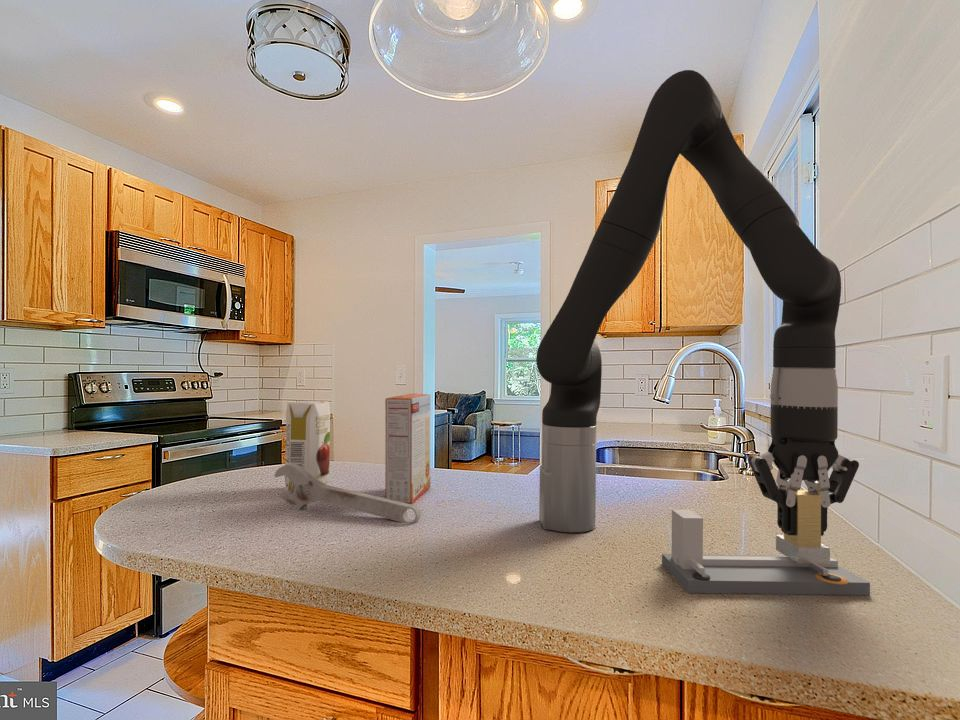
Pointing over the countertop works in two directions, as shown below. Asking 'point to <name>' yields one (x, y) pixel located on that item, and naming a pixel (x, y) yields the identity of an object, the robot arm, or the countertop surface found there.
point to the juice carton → (308, 438)
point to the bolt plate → (748, 568)
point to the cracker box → (407, 447)
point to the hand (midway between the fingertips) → (802, 533)
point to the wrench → (340, 496)
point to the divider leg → (806, 534)
